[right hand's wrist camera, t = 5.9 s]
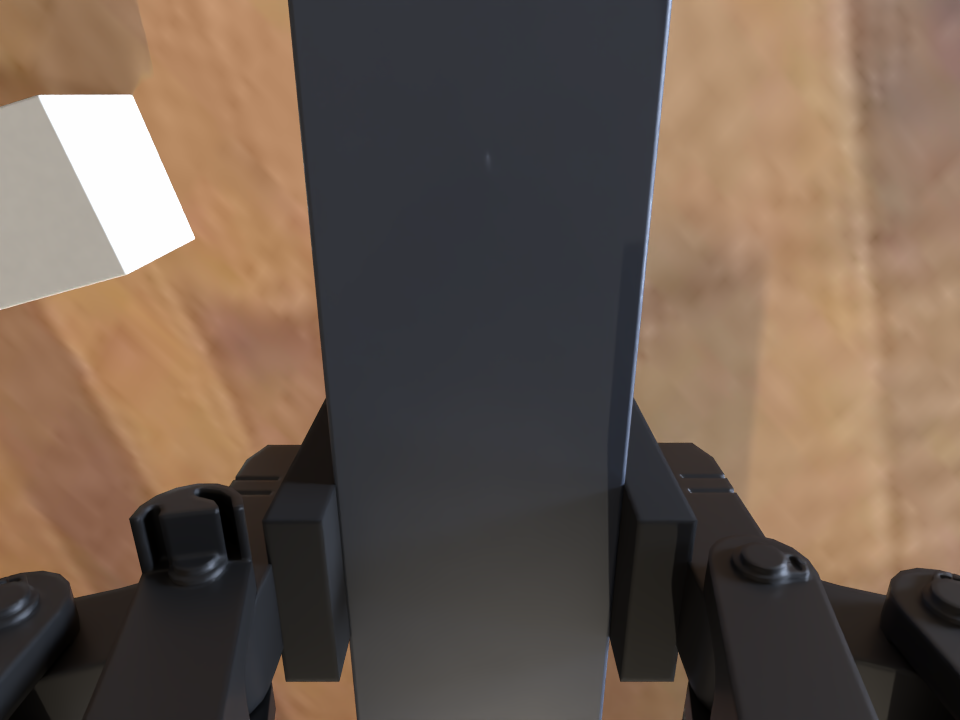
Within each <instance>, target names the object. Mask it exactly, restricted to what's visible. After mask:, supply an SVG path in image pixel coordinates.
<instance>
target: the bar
mask: <svg viewBox="0 0 960 720" xmlns="http://www.w3.org/2000/svg"><path fill="white" fill-rule="evenodd" d="M288 6H289V17H290V27H291V38H292V48H293V59H294V69H295V79H296V90H297V100H298V111H299V121H300V131H301V142H302V152H303V163H304V173H305V183H306V194H307V204H308V215H309V225H310V235H311V246H312V256H313V267H314V277H315V287H316V298H317V308H318V319H319V329H320V340H321V350H322V360H323V371H324V381H325V392H326V402H327V412H328V423H329V433H330V444H331V454H332V464H333V475H334V483H335V485H336V495H337V505H338V516H339V526H340V536H341V547H342V557H343V568H344V578H345V588H346V599H347V609H348V619H349V630H350V639H349V641H350V652H351V662H352V673H353V683H354V693H355V704H356V714H357V720H602V710H603V700H604V689H605V679H606V669H607V659H608V649H609V638H610V637H609V634H610V624H611V614H612V603H613V593H614V583H615V572H616V562H617V552H618V541H619V531H620V521H621V511H622V500H623V490H624V483H625V475H626V465H627V455H628V445H629V434H630V424H631V414H632V404H633V394H634V383H635V373H636V363H637V353H638V343H639V332H640V322H641V312H642V302H643V292H644V281H645V271H646V261H647V251H648V241H649V230H650V220H651V210H652V200H653V190H654V179H655V169H656V159H657V149H658V139H659V128H660V118H661V108H662V98H663V88H664V77H665V67H666V57H667V47H668V37H669V26H670V16H671V6H672V0H288Z"/></svg>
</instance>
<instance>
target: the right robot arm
mask: <svg viewBox="0 0 960 720" xmlns="http://www.w3.org/2000/svg"><path fill="white" fill-rule="evenodd" d="M129 520H130V524H131V528H132V533H133V537H134V541H135V545H136V549H137V554H138V558H139V562H140V566H141V570H142V576H141V578H140V581H139V583H137V584H134V585H130V586H127V587H123V588H119V589H115V590H110V591H105V592H101V593H96V594H91V595H87V596H82V597H77V598H74V597H73V594H72V590H71V587H70V583H69V582H68V581H67V580H66V579H65V578H64V577H63V576H61V575H60V574H57V573H52V572H46V571H36V572H26V573H19V574H15V575H11V576H9V577H4V578H1V579H0V720H275V710H276V707H275V700H274V694H273V687H272V679H273V676H274V673H275V671H276V668H277V665H278V662H279V659H280V657H281V654H282V659H283V666H284V673H285V679H286V682H339V681H340V676H341V672H342V668H343V664H344V660H345V656H346V652H347V648H348V643H349V639H350V630H349V619H348V609H347V599H346V588H345V578H344V568H343V557H342V547H341V536H340V526H339V516H338V505H337V495H336V485H335V483H334V475H333V464H332V454H331V444H330V433H329V423H328V412H327V402H326V399H325V401H324V402H323V404H322V406H321V408H320V410H319V412H318V414H317V416H316V418H315V420H314V422H313V424H312V426H311V427H310V429H309V431H308V433H307V435H306V437H305V439H304V441H303V443H302V445H267V446H266V447H264V448H263V449H261V450H260V451H259V452H257V453H256V454H254V455H253V456H251V457H250V458H249V459H247V460H246V462H245V463H244V465H243V466H242V468H241V469H240V471H239V472H238V474H237V476H236V480H233V482H232V483H231V485H230V486H229V487H228V486H225V485H221V484H193V485H188V486H183V487H178V488H175V489H172V490H170V491H167V492H164V493H162V494H159V495H157V496H155V497H153V498H152V499H150V500H149V501H147V502H146V503H144V504H143V505H141V506H139V508H138V509H137V510H136V511H135V512H134V514H133V515H132V516H131V517H130V518H129ZM609 637H610V641H611V645H612V649H613V653H614V657H615V662H616V666H617V670H618V674H619V678H620V682H674V676H675V670H676V663H677V656H678V652H679V655H680V657H681V660H682V663H683V666H684V669H685V671H686V674H687V677H688V680H689V681H688V687H687V694H686V700H685V706H684V712H683V719H682V720H960V576H959V575H956V574H951V573H949V572H945V571H941V570H933V569H923V568H915V569H909V570H904V571H900V572H899V573H898V574H897V575H896V576H894V577H893V578H892V579H891V581H890V585H889V588H888V592H887V595H881V594H877V593H872V592H867V591H863V590H858V589H853V588H849V587H844V586H839V585H836V584H832V583H829V582H825V581H822V580H821V579H820V577H819V575H818V573H817V571H816V570H815V568H814V567H813V566H812V564H811V563H810V561H809V560H808V559H807V558H805V557H804V556H803V555H801V554H800V553H799V552H797V551H796V550H795V549H793V548H792V547H790V546H787V545H785V544H783V543H781V542H778V541H776V540H774V539H770V538H766V537H765V536H764V534H763V533H762V531H761V530H760V528H759V527H758V525H757V524H756V522H755V521H754V519H753V518H752V516H751V515H750V513H749V511H748V510H747V508H746V507H745V505H744V504H743V502H742V501H741V499H740V498H739V496H738V495H737V493H734V489H733V487H732V486H731V484H730V483H729V481H728V480H727V478H724V473H723V472H722V470H721V469H720V467H719V466H718V464H717V463H716V461H715V460H714V458H713V457H711V456H710V455H709V454H707V453H706V452H704V451H703V450H701V449H700V448H699V447H697V446H696V445H694V444H693V443H657V442H656V440H655V438H654V436H653V434H652V432H651V430H650V428H649V426H648V424H647V422H646V421H645V419H644V417H643V415H642V413H641V411H640V409H639V407H638V405H637V403H636V401H635V399H634V398H633V404H632V414H631V424H630V434H629V445H628V455H627V465H626V475H625V483H624V490H623V500H622V511H621V521H620V531H619V541H618V552H617V562H616V572H615V583H614V593H613V603H612V614H611V624H610V634H609Z"/></svg>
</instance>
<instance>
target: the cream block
mask: <svg viewBox="0 0 960 720" xmlns="http://www.w3.org/2000/svg"><path fill="white" fill-rule="evenodd" d="M194 239H195V237H194V235H193V232H192V230H191V228H190V226H189V223H188V221H187V219H186V216H185V214H184V212H183V210H182V207H181V205H180V203H179V201H178V198H177V196H176V194H175V191H174V189H173V187H172V185H171V182H170V180H169V178H168V175H167V173H166V171H165V169H164V166H163V164H162V162H161V160H160V157H159V155H158V153H157V150H156V148H155V146H154V144H153V141H152V139H151V137H150V134H149V132H148V130H147V128H146V125H145V123H144V121H143V119H142V116H141V114H140V112H139V109H138V107H137V105H136V103H135V100H134V98H133V96H132V95H36V96H33V97H30V98H26V99H23V100H20V101H17V102H13V103H10V104H7V105H4V106H1V107H0V310H1V309H5V308H9V307H12V306H16V305H19V304H23V303H27V302H30V301H34V300H37V299H41V298H45V297H48V296H52V295H55V294H59V293H63V292H66V291H70V290H73V289H77V288H81V287H84V286H88V285H91V284H95V283H99V282H102V281H106V280H109V279H113V278H117V277H120V276H124V275H127V274H129V273H131V272H133V271H135V270H137V269H139V268H140V267H142V266H144V265H146V264H148V263H150V262H152V261H154V260H156V259H158V258H160V257H161V256H163V255H165V254H167V253H169V252H171V251H173V250H175V249H177V248H179V247H181V246H183V245H184V244H186V243H188V242H190V241H192V240H194Z"/></svg>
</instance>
